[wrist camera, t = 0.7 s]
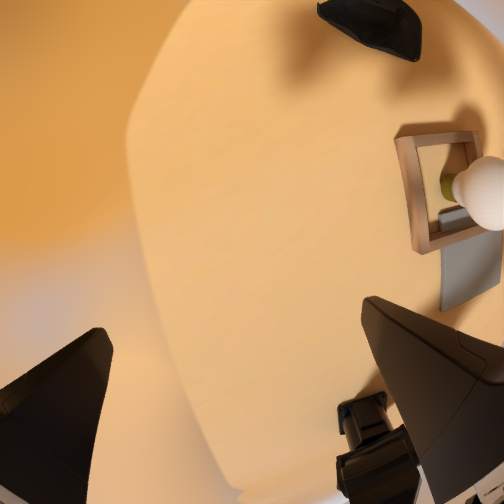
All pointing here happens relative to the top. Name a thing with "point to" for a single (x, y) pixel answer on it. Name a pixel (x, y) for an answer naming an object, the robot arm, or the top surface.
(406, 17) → the black irregular lumpy piece
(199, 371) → the top surface
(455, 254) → the coaster
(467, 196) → the light bulb
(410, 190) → the holder frame
